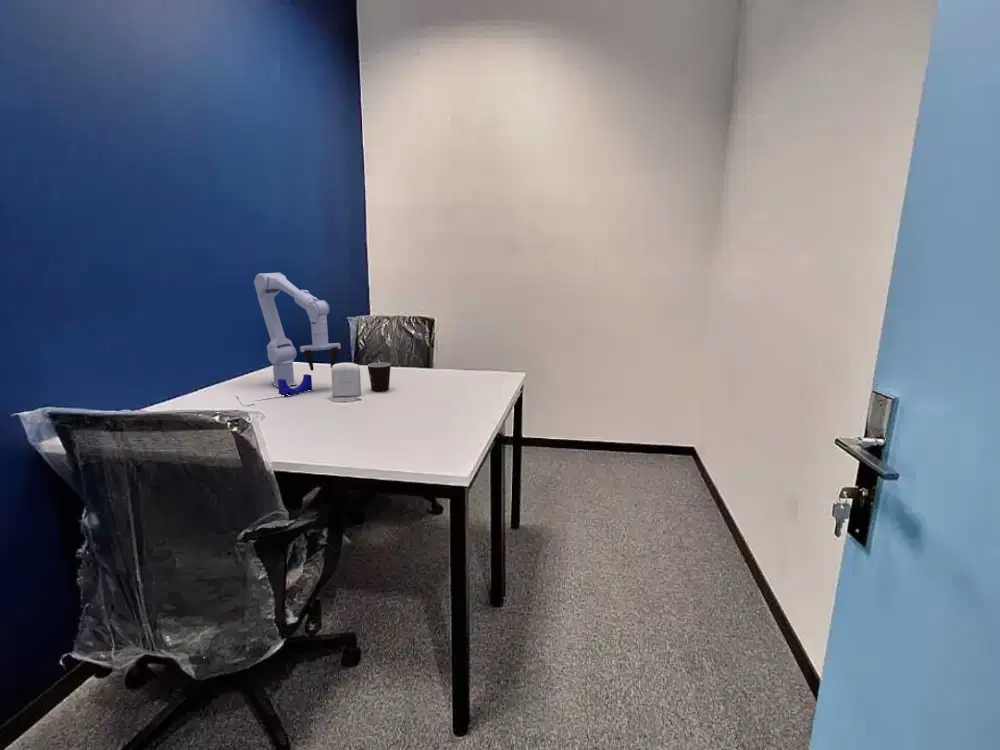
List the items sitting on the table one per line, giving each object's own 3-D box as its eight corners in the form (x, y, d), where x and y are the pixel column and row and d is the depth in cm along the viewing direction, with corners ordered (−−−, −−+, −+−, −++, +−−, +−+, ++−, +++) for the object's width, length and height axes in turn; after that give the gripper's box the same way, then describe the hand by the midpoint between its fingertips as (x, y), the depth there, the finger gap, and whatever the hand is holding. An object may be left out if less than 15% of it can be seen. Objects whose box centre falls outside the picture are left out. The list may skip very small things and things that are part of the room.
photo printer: (362, 393, 211) (360, 361, 208) (360, 396, 207) (358, 363, 204) (333, 394, 210) (331, 362, 207) (332, 397, 206) (329, 364, 203)
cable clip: (285, 397, 205) (284, 381, 204) (279, 395, 208) (277, 379, 207) (314, 391, 214) (313, 375, 213) (307, 389, 217) (306, 374, 216)
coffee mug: (389, 393, 211) (388, 367, 209) (366, 393, 212) (365, 367, 209) (395, 385, 223) (394, 361, 221) (373, 385, 223) (372, 360, 221)
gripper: (302, 336, 203) (305, 373, 206) (342, 333, 210) (344, 368, 214) (297, 333, 209) (300, 369, 212) (336, 330, 216) (338, 365, 219)
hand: (322, 368), depth 213 cm, fingers open, 7 cm apart
